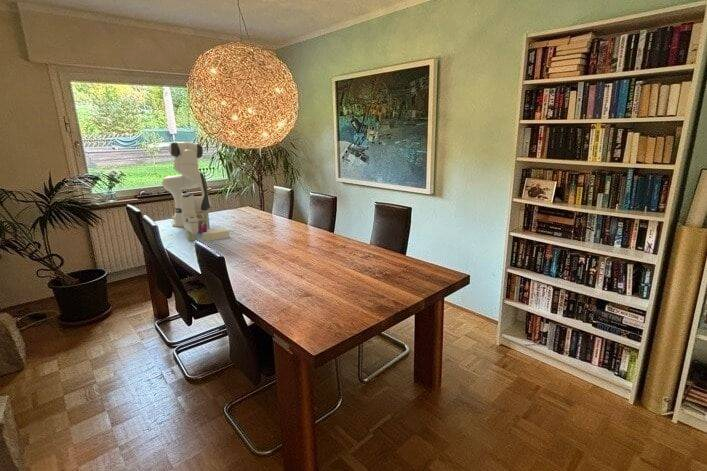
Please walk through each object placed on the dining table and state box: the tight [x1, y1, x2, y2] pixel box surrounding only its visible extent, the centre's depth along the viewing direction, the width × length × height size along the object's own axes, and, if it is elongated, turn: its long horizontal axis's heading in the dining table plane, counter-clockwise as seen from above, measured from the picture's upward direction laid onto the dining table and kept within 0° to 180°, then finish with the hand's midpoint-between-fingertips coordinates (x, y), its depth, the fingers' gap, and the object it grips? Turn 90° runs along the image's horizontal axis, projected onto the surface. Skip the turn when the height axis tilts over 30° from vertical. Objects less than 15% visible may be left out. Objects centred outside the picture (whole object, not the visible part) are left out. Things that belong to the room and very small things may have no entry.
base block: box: [207, 226, 230, 241], centre depth 254 cm, size 12×12×5 cm
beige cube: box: [201, 232, 213, 242], centre depth 245 cm, size 5×5×5 cm
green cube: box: [185, 231, 198, 242], centre depth 245 cm, size 5×5×5 cm
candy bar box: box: [195, 209, 211, 233], centre depth 263 cm, size 11×5×16 cm, turn 84°
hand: (191, 237), depth 245 cm, fingers open, 7 cm apart
